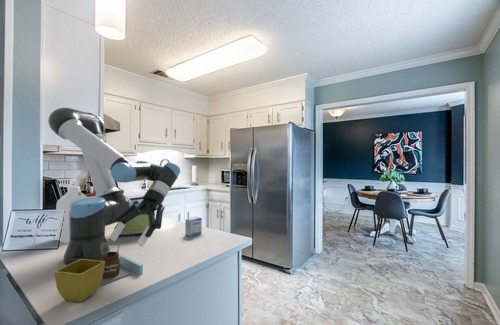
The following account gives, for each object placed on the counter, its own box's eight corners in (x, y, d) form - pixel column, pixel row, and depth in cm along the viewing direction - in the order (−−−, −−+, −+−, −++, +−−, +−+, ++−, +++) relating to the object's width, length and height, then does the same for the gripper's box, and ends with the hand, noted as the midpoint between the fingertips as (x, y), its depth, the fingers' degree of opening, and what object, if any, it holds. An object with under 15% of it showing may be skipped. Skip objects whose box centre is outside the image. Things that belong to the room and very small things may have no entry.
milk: (93, 237, 120) (94, 186, 120) (68, 243, 110) (69, 188, 110) (79, 233, 125) (80, 184, 125) (53, 239, 115) (54, 186, 115)
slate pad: (89, 277, 79) (89, 276, 79) (117, 267, 87) (117, 266, 87) (102, 285, 74) (102, 284, 74) (130, 274, 82) (130, 273, 82)
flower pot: (52, 303, 64) (52, 271, 64) (80, 287, 73) (81, 258, 73) (79, 308, 63) (80, 274, 63) (105, 290, 71) (106, 261, 71)
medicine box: (190, 236, 124) (191, 220, 124) (185, 235, 126) (185, 219, 126) (201, 233, 130) (202, 217, 130) (196, 231, 133) (196, 216, 133)
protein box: (151, 235, 125) (152, 205, 125) (118, 237, 120) (119, 207, 120) (151, 229, 135) (152, 202, 135) (121, 232, 129) (121, 203, 129)
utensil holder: (101, 272, 82) (102, 237, 82) (121, 269, 84) (122, 236, 84) (97, 280, 77) (98, 243, 77) (119, 277, 79) (120, 241, 79)
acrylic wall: (119, 264, 90) (119, 256, 90) (121, 263, 91) (122, 255, 91) (139, 274, 82) (140, 265, 82) (142, 273, 83) (142, 264, 83)
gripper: (185, 202, 96) (158, 252, 82) (138, 196, 105) (107, 241, 91) (176, 190, 91) (146, 242, 77) (128, 186, 100) (93, 232, 86)
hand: (125, 242), depth 84 cm, fingers open, 13 cm apart
